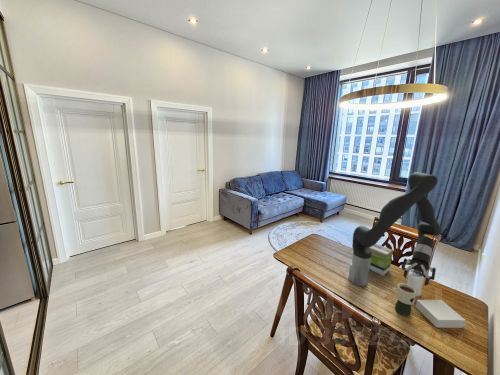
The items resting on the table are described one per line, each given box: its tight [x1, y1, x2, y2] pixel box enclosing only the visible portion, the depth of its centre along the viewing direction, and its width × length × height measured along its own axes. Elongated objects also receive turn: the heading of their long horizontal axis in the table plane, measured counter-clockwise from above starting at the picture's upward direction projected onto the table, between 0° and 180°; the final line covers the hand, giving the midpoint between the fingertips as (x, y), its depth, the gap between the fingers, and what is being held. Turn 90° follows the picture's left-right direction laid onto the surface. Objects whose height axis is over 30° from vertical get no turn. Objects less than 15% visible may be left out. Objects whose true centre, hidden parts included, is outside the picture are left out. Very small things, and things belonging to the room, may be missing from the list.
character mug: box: [394, 283, 416, 317], centre depth 101 cm, size 11×7×13 cm, turn 133°
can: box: [406, 269, 425, 298], centre depth 114 cm, size 6×6×12 cm
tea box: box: [369, 243, 394, 277], centre depth 136 cm, size 15×10×15 cm, turn 37°
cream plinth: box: [415, 299, 466, 329], centre depth 99 cm, size 12×12×4 cm
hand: (414, 281), depth 113 cm, fingers open, 8 cm apart
